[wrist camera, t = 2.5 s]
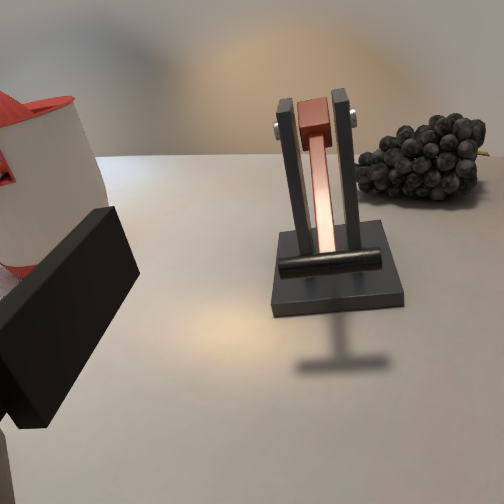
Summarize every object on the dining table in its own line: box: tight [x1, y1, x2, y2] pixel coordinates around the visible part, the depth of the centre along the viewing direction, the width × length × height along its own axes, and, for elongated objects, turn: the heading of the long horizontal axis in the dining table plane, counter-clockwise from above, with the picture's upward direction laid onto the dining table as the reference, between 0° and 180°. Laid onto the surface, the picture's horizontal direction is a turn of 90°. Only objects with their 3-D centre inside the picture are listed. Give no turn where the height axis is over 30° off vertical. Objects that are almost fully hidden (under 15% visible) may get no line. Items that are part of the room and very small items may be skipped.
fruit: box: [355, 113, 490, 200], centre depth 47 cm, size 9×8×15 cm
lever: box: [278, 97, 383, 281], centre depth 29 cm, size 14×6×2 cm
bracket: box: [271, 88, 404, 317], centre depth 35 cm, size 12×10×15 cm
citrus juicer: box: [0, 91, 109, 278], centre depth 47 cm, size 16×17×20 cm
